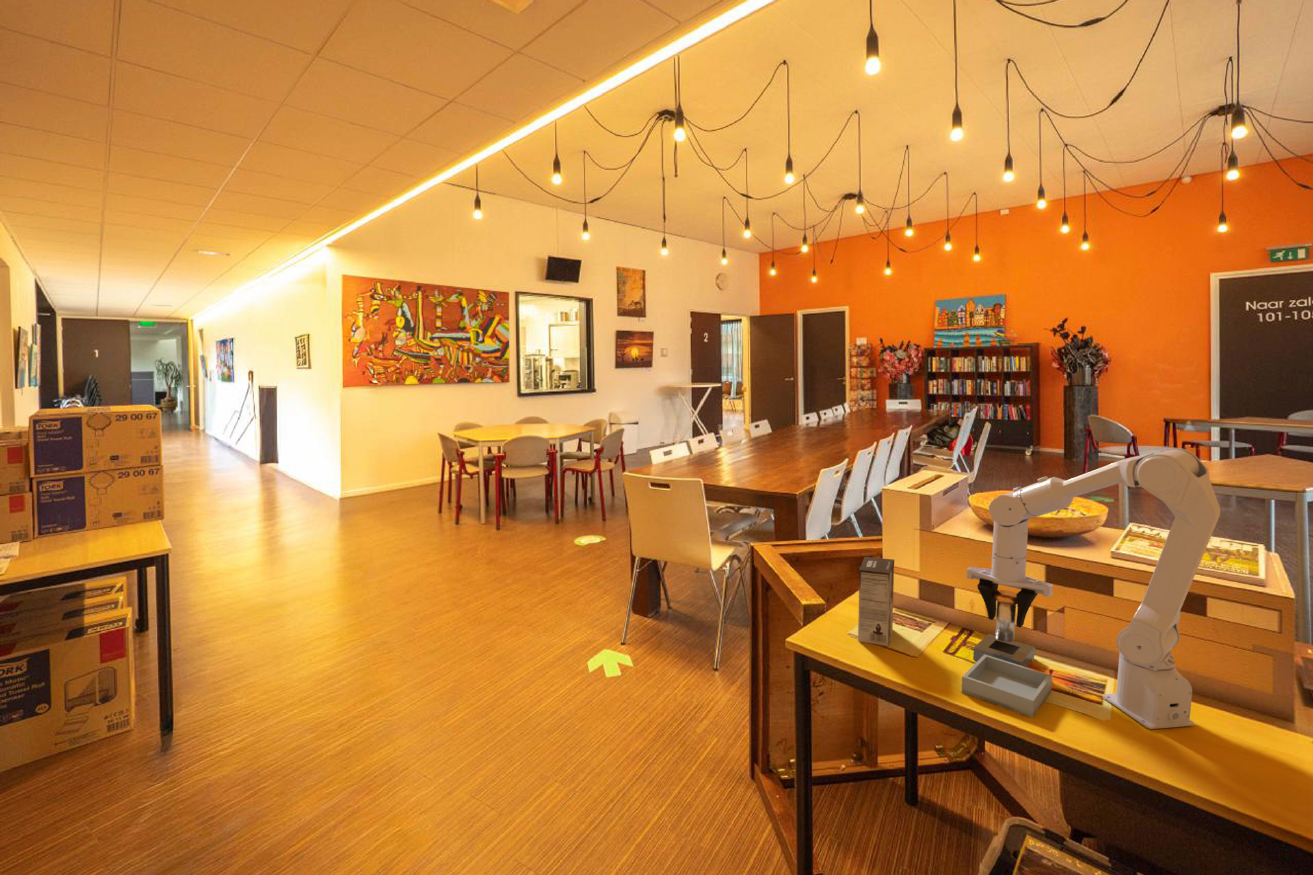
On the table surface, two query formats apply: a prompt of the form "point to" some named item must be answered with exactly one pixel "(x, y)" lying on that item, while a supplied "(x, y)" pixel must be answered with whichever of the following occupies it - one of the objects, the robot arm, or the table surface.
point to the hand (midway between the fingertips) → (1005, 621)
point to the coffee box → (876, 600)
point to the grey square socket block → (1004, 650)
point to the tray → (1007, 685)
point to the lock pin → (1005, 615)
